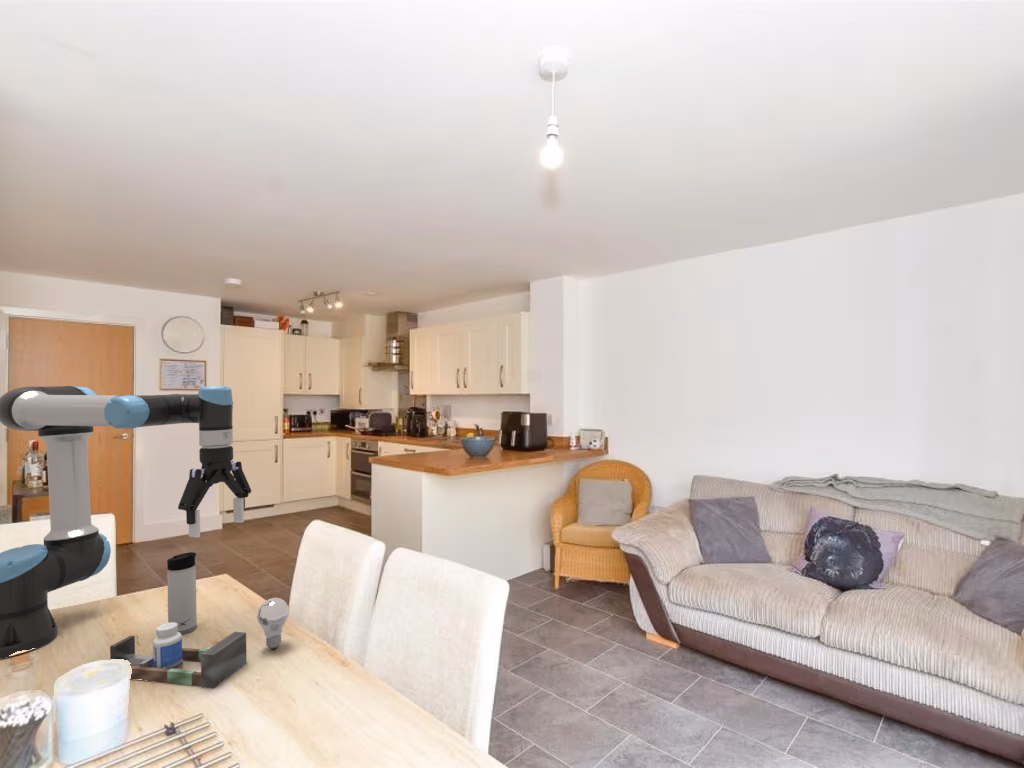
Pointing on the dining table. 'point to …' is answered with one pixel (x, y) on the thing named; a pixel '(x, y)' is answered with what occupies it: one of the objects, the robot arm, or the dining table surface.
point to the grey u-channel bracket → (130, 653)
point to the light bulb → (273, 620)
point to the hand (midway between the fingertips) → (217, 529)
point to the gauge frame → (202, 664)
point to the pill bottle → (168, 647)
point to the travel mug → (182, 592)
